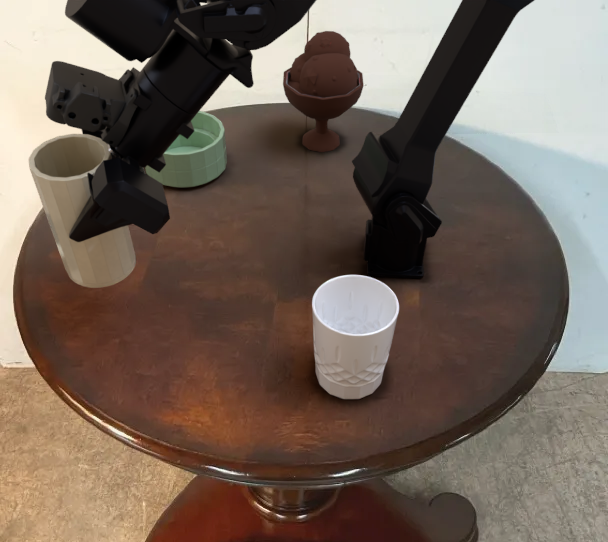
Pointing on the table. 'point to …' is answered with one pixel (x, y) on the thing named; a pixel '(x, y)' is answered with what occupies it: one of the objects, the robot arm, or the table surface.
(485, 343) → the table surface
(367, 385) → the white cup
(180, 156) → the sage bowl
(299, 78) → the ice cream bowl
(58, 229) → the cream cup
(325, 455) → the table surface
